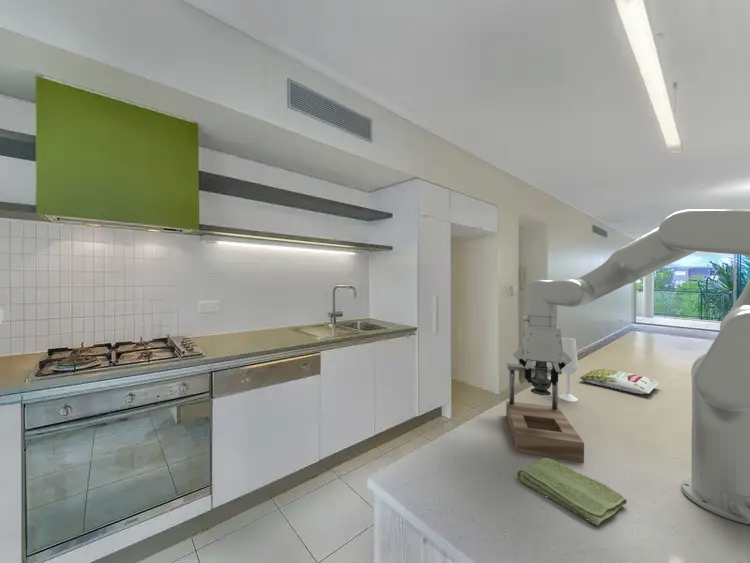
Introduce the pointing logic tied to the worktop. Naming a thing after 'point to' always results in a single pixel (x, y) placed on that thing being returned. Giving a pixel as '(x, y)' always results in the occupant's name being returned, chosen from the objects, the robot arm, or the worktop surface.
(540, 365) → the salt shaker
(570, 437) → the socket board
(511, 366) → the grey metal arch
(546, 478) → the washcloth
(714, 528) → the worktop surface
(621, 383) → the frozen beans
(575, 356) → the champagne flute
